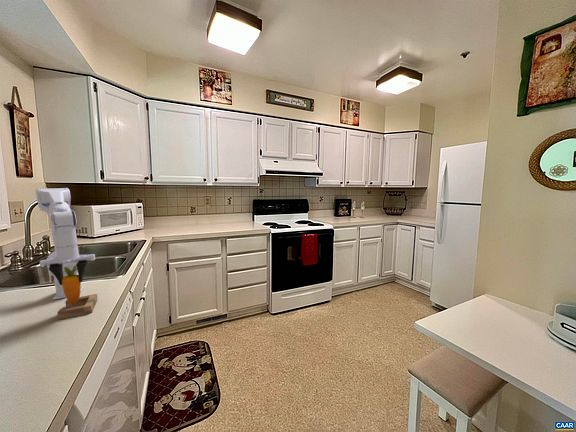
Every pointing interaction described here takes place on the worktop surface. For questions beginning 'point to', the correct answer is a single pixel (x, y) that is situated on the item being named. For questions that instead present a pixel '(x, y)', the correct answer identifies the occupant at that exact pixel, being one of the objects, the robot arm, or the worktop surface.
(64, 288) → the carrot
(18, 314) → the worktop surface
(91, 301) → the walnut bracket
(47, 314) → the worktop surface
